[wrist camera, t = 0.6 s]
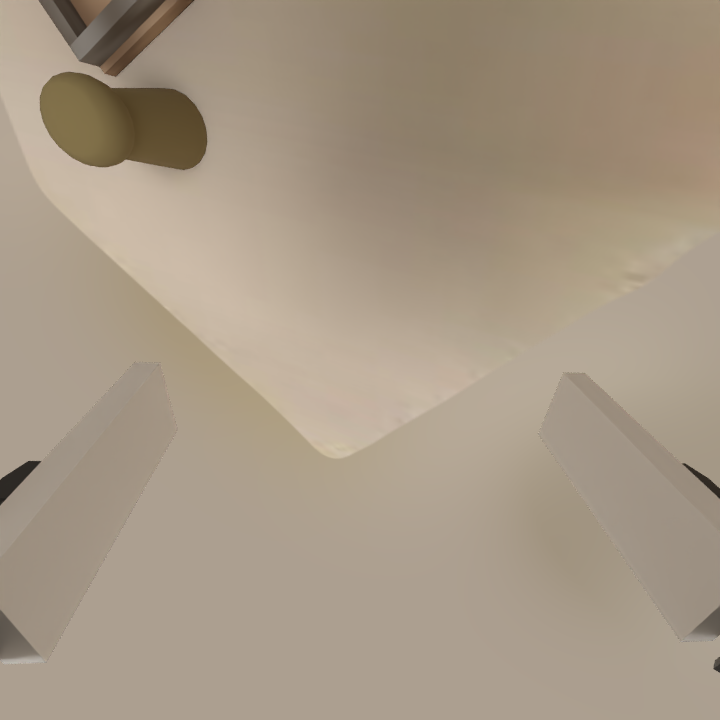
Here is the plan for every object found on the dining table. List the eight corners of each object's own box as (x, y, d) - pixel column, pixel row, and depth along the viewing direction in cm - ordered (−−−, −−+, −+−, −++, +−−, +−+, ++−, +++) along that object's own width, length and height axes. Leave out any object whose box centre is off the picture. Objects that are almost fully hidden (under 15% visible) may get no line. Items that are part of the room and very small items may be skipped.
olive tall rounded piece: (143, 158, 33) (29, 158, 24) (140, 78, 30) (9, 42, 21) (205, 178, 33) (116, 187, 24) (209, 101, 30) (108, 75, 21)
